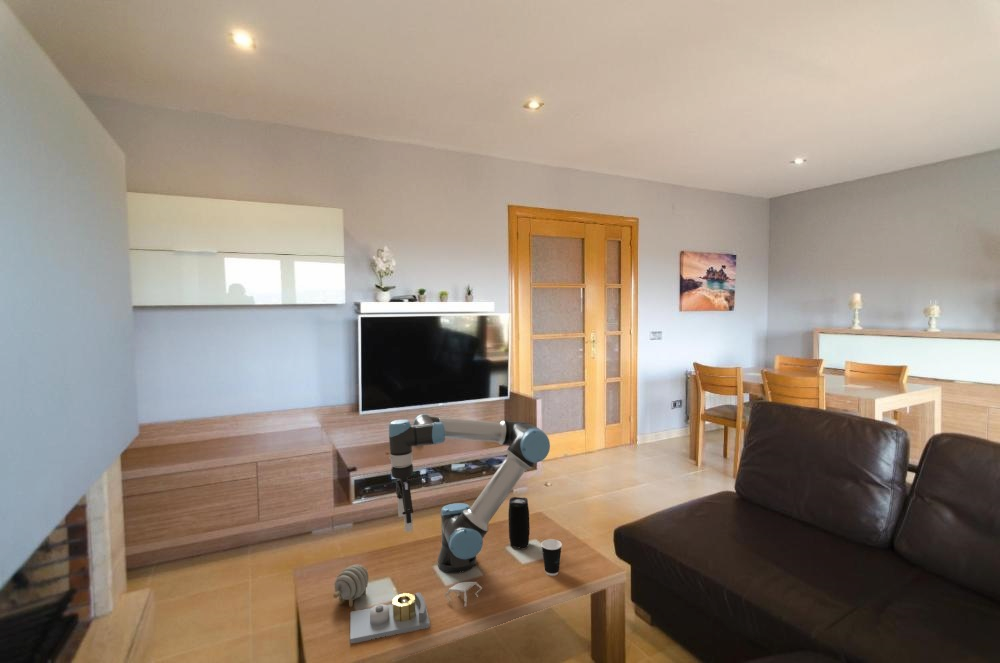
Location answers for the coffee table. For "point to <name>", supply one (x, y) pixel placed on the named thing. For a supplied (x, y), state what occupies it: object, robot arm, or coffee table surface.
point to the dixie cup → (551, 556)
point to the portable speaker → (519, 522)
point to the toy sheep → (351, 583)
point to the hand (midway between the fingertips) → (405, 523)
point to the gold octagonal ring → (403, 607)
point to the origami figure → (463, 589)
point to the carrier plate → (382, 630)
